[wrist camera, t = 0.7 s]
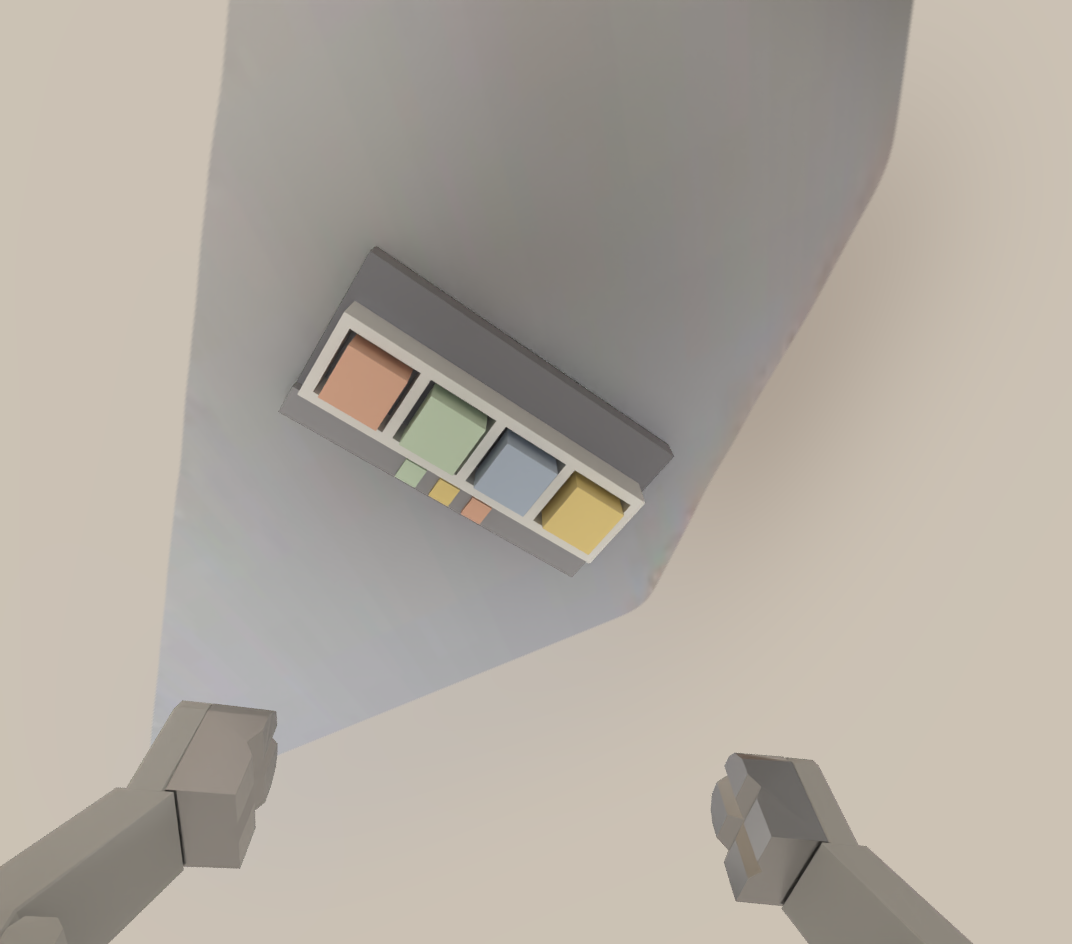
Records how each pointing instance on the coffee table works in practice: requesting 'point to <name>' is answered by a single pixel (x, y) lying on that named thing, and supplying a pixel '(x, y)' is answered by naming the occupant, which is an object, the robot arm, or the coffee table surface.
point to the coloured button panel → (486, 384)
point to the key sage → (444, 430)
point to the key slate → (515, 473)
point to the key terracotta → (365, 382)
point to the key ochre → (581, 513)
